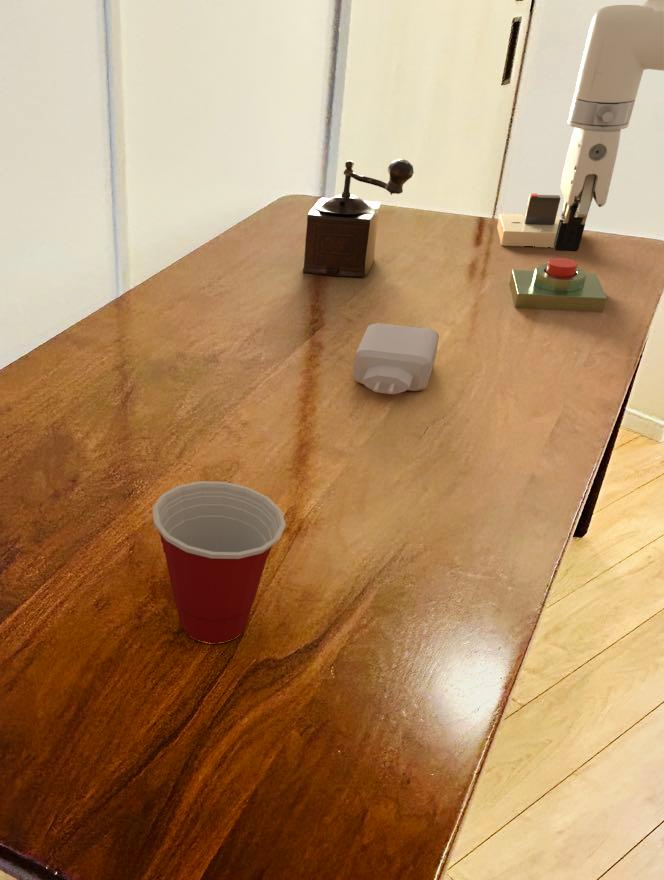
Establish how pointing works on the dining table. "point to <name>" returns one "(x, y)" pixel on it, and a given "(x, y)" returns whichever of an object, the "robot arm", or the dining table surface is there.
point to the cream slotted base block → (525, 231)
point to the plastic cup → (216, 553)
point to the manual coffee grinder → (348, 226)
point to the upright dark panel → (542, 209)
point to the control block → (557, 291)
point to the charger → (395, 358)
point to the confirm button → (561, 267)
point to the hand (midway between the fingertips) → (565, 249)
